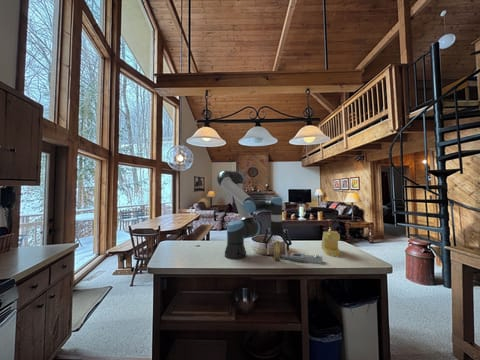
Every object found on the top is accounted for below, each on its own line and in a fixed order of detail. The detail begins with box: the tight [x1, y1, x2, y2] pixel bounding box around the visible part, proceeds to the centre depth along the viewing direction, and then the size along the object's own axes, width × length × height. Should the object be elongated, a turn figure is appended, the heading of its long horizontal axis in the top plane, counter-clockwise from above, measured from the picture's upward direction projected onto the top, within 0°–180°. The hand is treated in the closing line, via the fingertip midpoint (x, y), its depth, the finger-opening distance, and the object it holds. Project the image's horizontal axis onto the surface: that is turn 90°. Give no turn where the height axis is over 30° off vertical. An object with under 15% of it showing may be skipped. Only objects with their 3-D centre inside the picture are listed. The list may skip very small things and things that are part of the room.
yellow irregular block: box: [321, 230, 341, 257], centre depth 159 cm, size 20×9×16 cm, turn 171°
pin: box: [273, 240, 281, 262], centre depth 141 cm, size 4×4×12 cm
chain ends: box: [272, 252, 324, 265], centre depth 142 cm, size 31×9×4 cm, turn 68°
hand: (277, 254), depth 141 cm, fingers open, 11 cm apart
